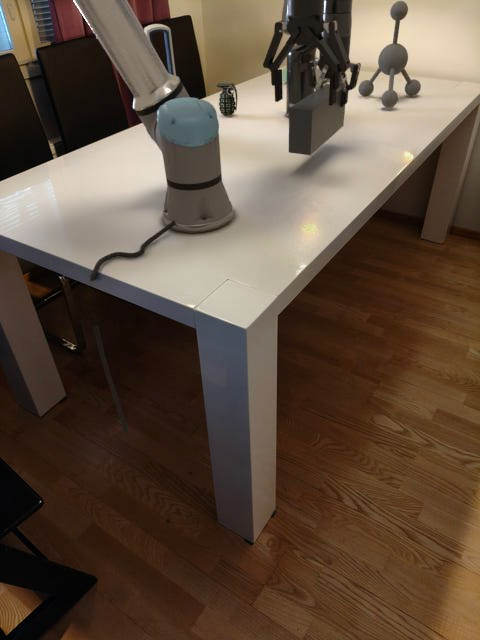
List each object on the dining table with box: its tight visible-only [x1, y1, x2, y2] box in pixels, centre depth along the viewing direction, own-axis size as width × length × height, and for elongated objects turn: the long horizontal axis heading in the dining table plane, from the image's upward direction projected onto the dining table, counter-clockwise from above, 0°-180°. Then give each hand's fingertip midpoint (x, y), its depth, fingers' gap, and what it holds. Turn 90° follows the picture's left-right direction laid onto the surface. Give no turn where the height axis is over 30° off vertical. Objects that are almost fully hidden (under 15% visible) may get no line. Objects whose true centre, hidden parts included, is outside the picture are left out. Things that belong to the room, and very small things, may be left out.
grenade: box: [215, 82, 238, 117], centre depth 166 cm, size 7×6×10 cm
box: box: [288, 83, 346, 156], centre depth 125 cm, size 25×6×10 cm, turn 152°
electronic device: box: [143, 23, 177, 76], centre depth 146 cm, size 12×8×30 cm, turn 105°
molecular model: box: [358, 0, 422, 109], centre depth 166 cm, size 24×22×30 cm
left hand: (305, 102), depth 115 cm, fingers open, 13 cm apart
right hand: (331, 104), depth 131 cm, fingers closed on box, 6 cm apart
